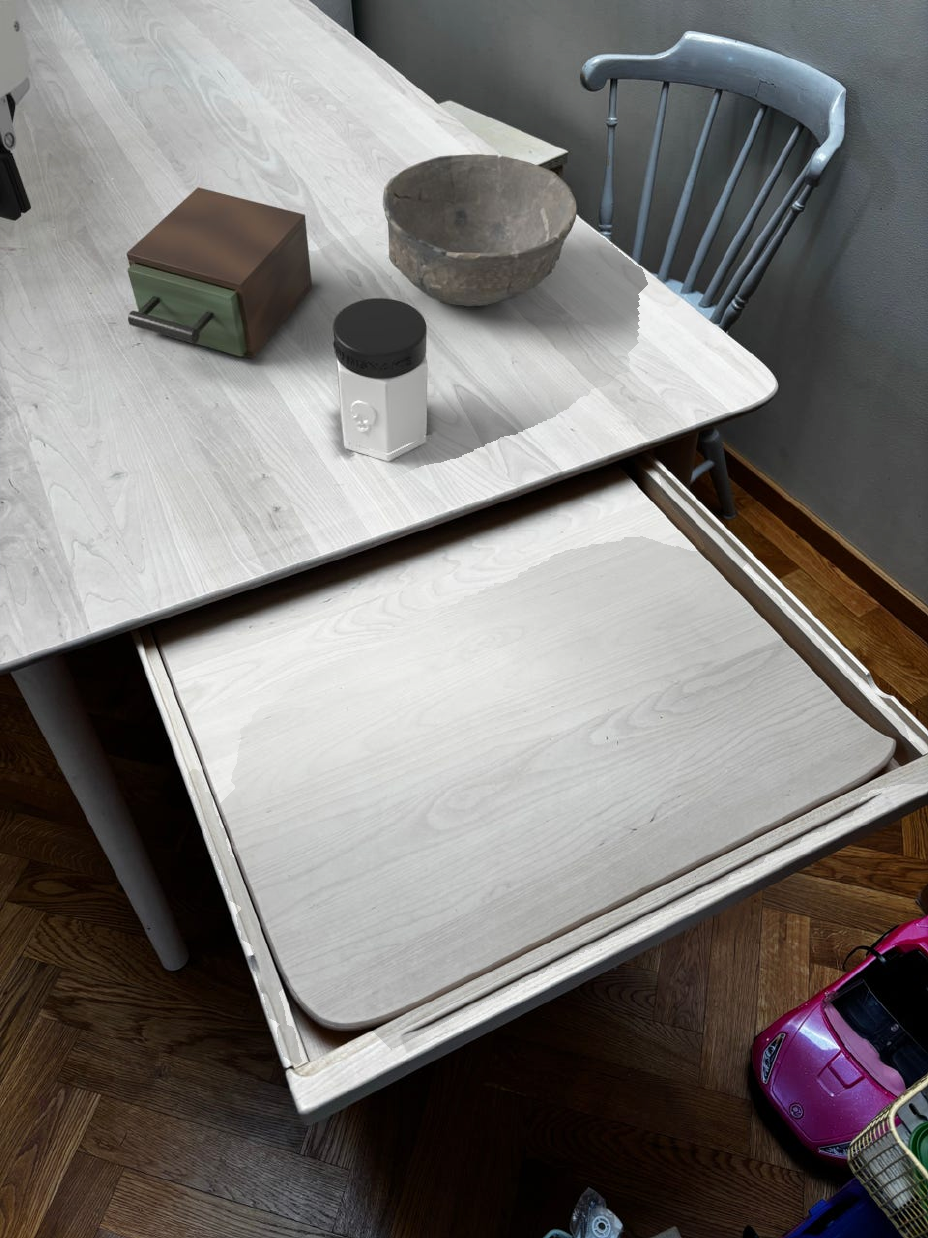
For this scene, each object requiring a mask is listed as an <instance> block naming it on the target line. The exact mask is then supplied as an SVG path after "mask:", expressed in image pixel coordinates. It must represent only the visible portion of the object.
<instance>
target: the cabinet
mask: <svg viewBox="0 0 928 1238" xmlns="http://www.w3.org/2000/svg"><path fill="white" fill-rule="evenodd" d="M306 221H307V220H306V214H305V213H300V212H297V211H292V210H289V209H285V208H280V207H277V206H272V205H269V204H266V203H265V204H264V203H262V202H258V201H253V200H250V199H245V198H242V197H238V196H234V195H230V194H227V193H222V192H218V191H214V190H211V189H207V188H202V187H196V188H195V189H194V190H193V191H192V192H191V193H190V194H189V195H187V197H185V198H184V199H183V200H182V201H181V202H180V203H179V204H178V205H177V206H176V207H175V208H174V209H172V210H171V211H170V212H169V213H168V214H167V215H166V216H165V217H164V218H163V219H162V220H160V221H159V222H158V223H157V224H156V225H155V226H154V227H153V228H152V229H151V230H150V231H149V232H148V233H146V234H145V236H143V237H142V238H141V239H140V240H139V241H138V242H137V243H135V244H134V245H133V246H132V248H130V249H129V250H128V251H127V252H126V258H127V260H128V265H129V267H130V266H131V265H132V264H133V263H134V264H138V265H142V266H145V267H149V268H150V267H154V268H158V269H161V270H165V271H168V272H172V273H176V274H179V275H183V276H187V277H190V278H194V279H197V280H201V281H205V282H208V283H212V284H216V285H219V286H223V287H226V288H230V289H234V290H235V291H236V292H237V297H238V303H239V308H240V314H241V320H242V325H243V331H244V336H245V342H246V348H247V350H246V352H245V353H244V354H243V355H242V357H247V358H250V359H255V357H256V356H257V355H258V354H259V353H260V352H261V350H262V349H263V348H264V346H265V345H266V344H267V343H268V342H269V340H270V339H271V338H272V337H273V336H274V334H275V333H276V332H277V331H278V330H279V329H280V327H281V326H282V325H283V323H284V322H285V321H286V320H287V319H288V317H290V315H291V314H292V313H293V312H294V310H295V309H296V308H297V307H298V305H299V304H300V303H301V302H302V301H303V299H305V297H306V296H307V295H308V293H309V292H310V291H311V290H312V289H313V282H312V271H311V270H312V269H311V261H310V251H309V241H308V231H307V222H306Z"/></svg>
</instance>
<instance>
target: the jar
mask: <svg viewBox="0 0 928 1238" xmlns="http://www.w3.org/2000/svg"><path fill="white" fill-rule="evenodd" d="M427 329H428V328H427V323H426V319H425V318H424V316H423V315H422V313H421V312H420V311H419V310H418V309H417V308H416V307H414V306H412V305H410V304H408V303H406V302H403V301H401V300H397V299H394V298H393V299H392V298H385V297H374V298H373V297H372V298H365V299H361V300H358V301H355V302H352V303H351V304H349V305H347V306H345V307H344V308H342V309H341V310H340V311H339V312H338V314H337V315H336V316H335V318H334V320H333V324H332V336H333V343H332V344H333V345H332V346H333V349H334V355H335V361H336V362H335V363H336V374H337V386H338V397H339V410H340V411H339V412H340V420H341V430H342V436H343V445H344V449H346V450H349V451H353V452H355V453H359V454H362V455H366V456H369V457H372V458H375V459H378V460H382V461H385V462H391V461H393V460H395V459H396V458H398V457H400V456H402V455H404V454H406V453H408V452H410V451H412V450H414V449H416V448H417V447H421V445H423V444H425V443H426V442H427V435H428V434H427V431H428V427H427V426H428V373H429V371H428V370H429V365H428V359H427V335H428V333H427V332H428V331H427ZM426 434H427V435H426ZM425 435H426V436H425ZM424 436H425V437H424ZM421 437H423V438H421ZM419 438H421V439H419ZM417 439H419V440H417ZM415 440H417V441H415ZM413 441H415V442H414V443H412V444H410V445H408V446H406V447H404V448H402V449H400V450H398V451H396V452H394V453H392V454H390V455H385V454H382V453H379V452H376V451H372V450H369V449H370V448H371V449H374V450H377V451H380V452H381V451H382V452H385V453H390V452H392V451H394V450H396V449H398V448H400V447H402V446H404V445H406V444H408V443H411V442H413ZM349 443H350V444H349ZM356 445H358V446H356ZM359 445H360V446H362V447H366V448H369V449H366V448H362V447H359Z"/></svg>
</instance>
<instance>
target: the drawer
mask: <svg viewBox="0 0 928 1238" xmlns="http://www.w3.org/2000/svg"><path fill="white" fill-rule="evenodd" d="M126 271H127V275H128V278H129V282H130V285H131V290H132V292H133V296H134V300H135V303H136V307H137V309H138V311H136V310H131V311H130V312H129V313H128V316H127V322H128V324H129V325H130V326H132V327H136V328H139V329H143V330H146V331H149V332H153V333H156V334H160V335H163V336H167V337H170V338H173V339H177V340H181V341H184V342H187V343H191V344H195V345H200V346H203V347H207V348H210V349H214V350H217V351H220V352H223V353H227V354H231V355H235V356H238V357H243V354H244V353H245V352H246V350H247V348H246V342H245V336H244V331H243V325H242V320H241V314H240V308H239V303H238V297H237V292H236V291H235V290H234V289H232V290H229V289H225V288H221V287H218V286H214V285H211V284H207V283H203V282H200V281H196V280H192V279H189V278H185V277H182V276H178V275H174V274H172V272H168V271H165V270H161V269H158V268H154V267H150V268H149V267H145V266H142V265H138V264H134V263H133V264H132V265H131V266H130V265H129V267H128V268H127V269H126Z"/></svg>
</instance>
